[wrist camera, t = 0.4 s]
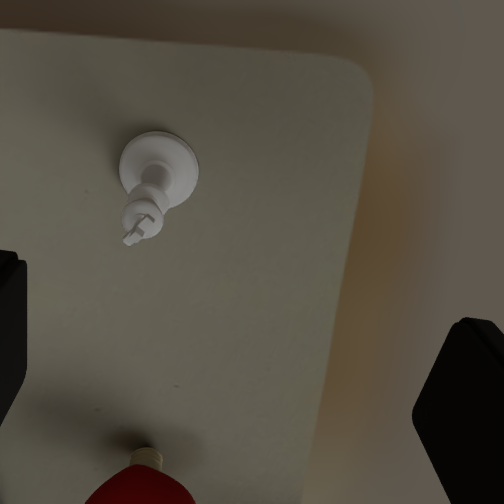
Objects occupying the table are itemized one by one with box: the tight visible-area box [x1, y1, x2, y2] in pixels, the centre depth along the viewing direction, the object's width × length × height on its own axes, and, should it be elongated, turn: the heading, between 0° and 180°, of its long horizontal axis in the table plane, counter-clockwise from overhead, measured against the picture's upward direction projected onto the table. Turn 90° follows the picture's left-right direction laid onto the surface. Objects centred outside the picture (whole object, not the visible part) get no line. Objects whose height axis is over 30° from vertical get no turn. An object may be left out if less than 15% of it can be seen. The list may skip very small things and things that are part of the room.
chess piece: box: [119, 131, 199, 247], centre depth 26 cm, size 5×5×10 cm
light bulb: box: [85, 447, 196, 504], centre depth 37 cm, size 9×7×10 cm
